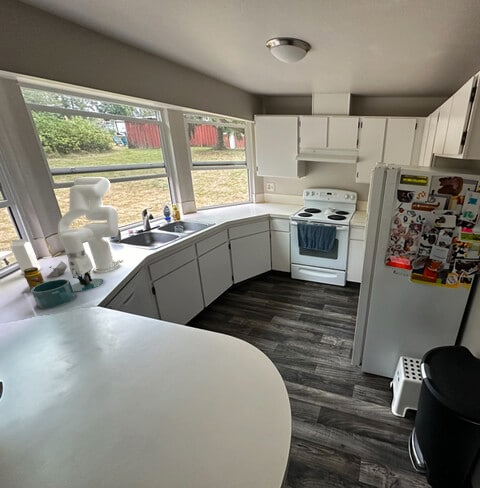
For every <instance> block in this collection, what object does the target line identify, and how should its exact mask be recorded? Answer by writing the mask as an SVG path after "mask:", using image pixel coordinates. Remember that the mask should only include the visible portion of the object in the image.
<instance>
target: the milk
mask: <svg viewBox="0 0 480 488" xmlns="http://www.w3.org/2000/svg"><path fill="white" fill-rule="evenodd" d="M10 248H11V251H12V253H13V255H14V258H15V260H16V262H17V265H18V266H19V269H20V271H21V274H22V275H25V274H24V270H25V269H28V268H32V267H37V268H38V270H39V271H40V270H41V266H40V264H39V261H38V259H37V255H36V254H35V252H34V249H33V246H32V244H31V241H27V240H26V239H25V238H21V239H20V238H19V239H11V245H10Z"/></svg>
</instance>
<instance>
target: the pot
mask: <svg viewBox="0 0 480 488" xmlns="http://www.w3.org/2000/svg"><path fill="white" fill-rule="evenodd" d="M30 292H31V295H32V297H33V299H34V301H35V303H36V306H37V307H38V308H40V309H50V308H55V307H58V306H61V305H64V304H67V303H69V302H70V301H72V300H73V299H74V298H75V297H76V294H75V292H73V289H72V284H71V281H70V280H69V279H67V278H59V279H51V280H46V281H44V283H42V284H39V285H37V286H35V287H33V288H32V289H30Z"/></svg>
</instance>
